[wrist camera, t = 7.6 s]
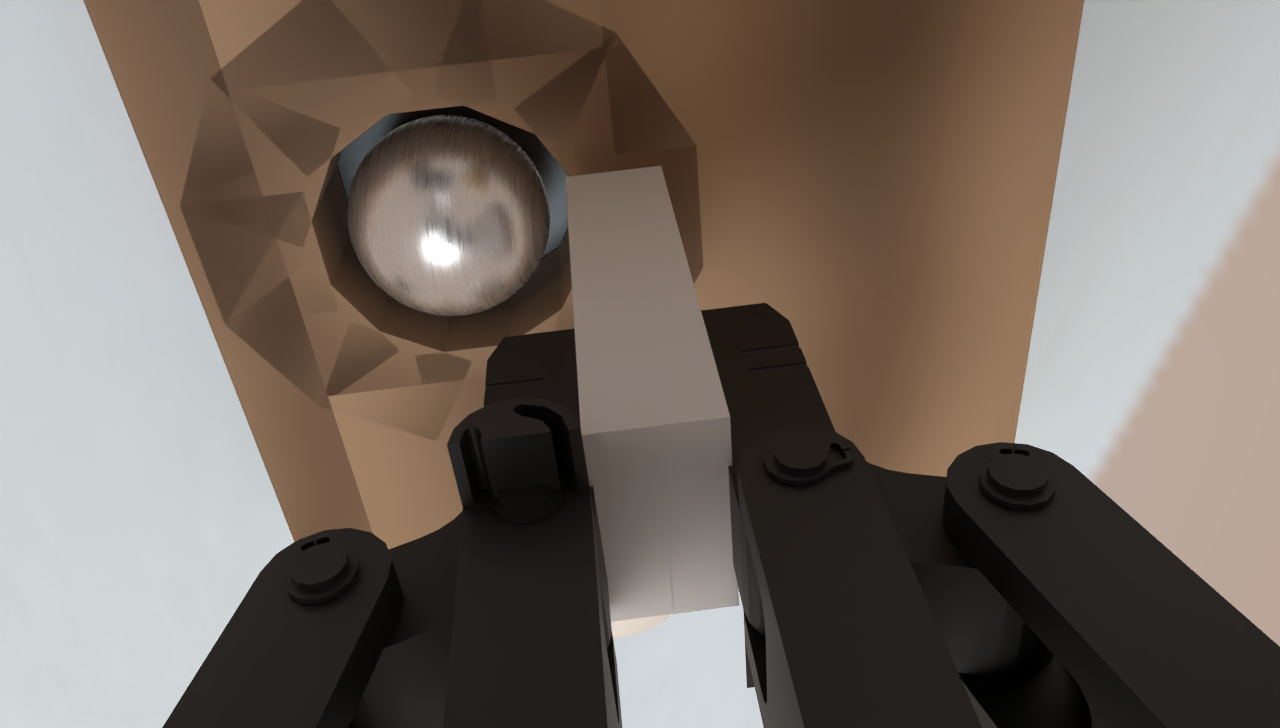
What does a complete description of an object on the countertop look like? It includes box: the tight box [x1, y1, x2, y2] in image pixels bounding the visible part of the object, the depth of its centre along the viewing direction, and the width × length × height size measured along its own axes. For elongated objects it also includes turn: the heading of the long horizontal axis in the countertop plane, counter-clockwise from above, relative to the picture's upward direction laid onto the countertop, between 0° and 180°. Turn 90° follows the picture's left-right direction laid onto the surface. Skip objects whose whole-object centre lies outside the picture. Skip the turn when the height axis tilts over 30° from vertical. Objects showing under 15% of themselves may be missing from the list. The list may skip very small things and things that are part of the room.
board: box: [84, 0, 1084, 549], centre depth 18 cm, size 15×15×2 cm
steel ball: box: [347, 115, 550, 316], centre depth 17 cm, size 4×4×4 cm
